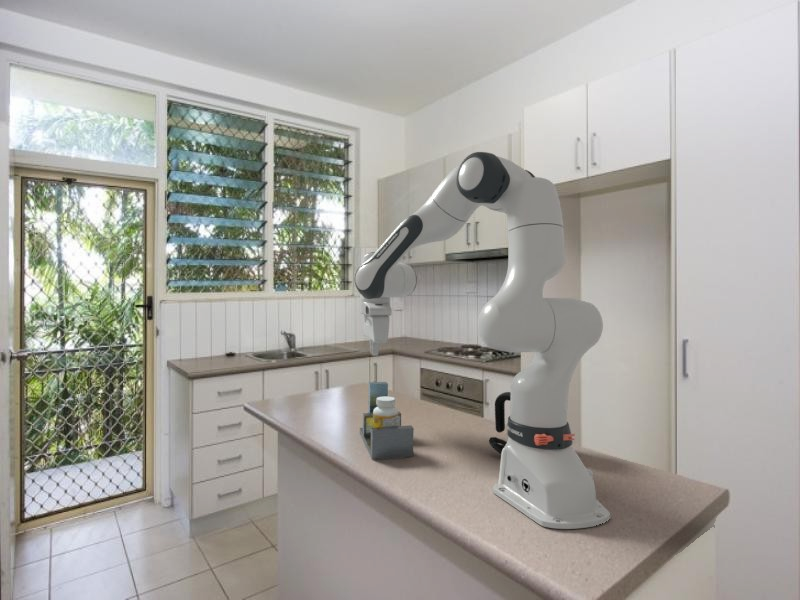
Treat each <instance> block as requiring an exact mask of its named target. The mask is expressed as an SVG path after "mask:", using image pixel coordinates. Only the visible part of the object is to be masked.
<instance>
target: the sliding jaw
mask: <svg viewBox="0 0 800 600" xmlns="http://www.w3.org/2000/svg"><path fill="white" fill-rule="evenodd" d="M383 396H388V397H389V384H388V382H387V381H371V382H369V381H368V401H367V402H368V407H367V409H368V411H367V413H366V412H364V413H362V428H363V436H371V428H373V411H374V409H375V408H376V407H378V406H377V404H376V399H377V398H378V397H383ZM398 426H402V413H401V412H400V411H398Z"/></svg>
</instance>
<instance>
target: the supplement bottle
mask: <svg viewBox="0 0 800 600" xmlns="http://www.w3.org/2000/svg"><path fill="white" fill-rule="evenodd" d="M376 404H377V406H378V407H376V408H375V409H374V411H373V428H375V427H392V426H398V412H399V410H398V408H397V407H395V406H396V397H393V396H389V395H388V396H383V397H378V398H377V399H376Z"/></svg>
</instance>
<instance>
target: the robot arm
mask: <svg viewBox="0 0 800 600" xmlns="http://www.w3.org/2000/svg"><path fill="white" fill-rule="evenodd" d="M480 207H485V208H487V209H489V210H492V211H494V212H498V213H504V214H506V217H507V219H506V220H507V244H508V246H507V250H508V255H507V256H508V258H507V271H506V275H505V278H504V280H503V284H502V285H501V287H500V289H499V290H498V292H497V293H496V294H495V295H494V296H493V297H492V298H491V299H490V300H488V301H487V302H486V303H485V304H484V305H483V307H481V310H480V312H479V315H478V316H477V317H478V318H477V331H478V333H479V338H481V341H482V342H483V344H484V345H485V346H486V347H487V348H489V349H491V350H492V349H493V350H496V351H499V352H506V353H534V357H533V359H532V361H531V362H530V364H528V366H527V367H525V368H524V369H523V370H521V371H519V372H518V373H517V374H516V375H515V376H514V377H513V379H512V380H511V383H510V392H511V395H510V401H509V402H510V403H509V416H508V418H507V423H506V429H507V434H506V435H507V436H508V438H507V441H506V442H507V443H506V445H505V447H504V448H503V450H502V453H501V454H500V463H499V465H500V466H499V475H498V482H497V483H495V484H494V485H493V488H492V493H493V494H494V495H496V496H497V497H499V498H500V499H502V500H503V501H505V502H506V503H508V504H509V505H510V506H512V507H513V508H515V509H516V510H518V511H519V512H521V513H522V514H523V515H525V516H527V518H529V519H531V520H532V521H534V522H535V523H537V524H538V525H539V526H542V527H545V528H549V529H550V528H551V529H555V530H557V529H558V530H559V529H560V530H573V529H585V528H592V527H596V525H597V526H600V525H599V524H601V525H603V524H605V522H606V521H607V522H609V521H610V520H611V517H612V516H611V512H610V511H609V510H608V509H607V508H606V507H605V506H604V505H603V504H602V503H601V502H600V501H599V500H598V499H597V495H596V494H597V493H596V485H595V481H594V473H593V471H592V470H591V469H590V468H587V467H586V466H585V464H584V463H583V462H582V460H581V458H580V457H579V455H578V453H577V452H576V450H575V449H574V447H573V442H574V441H575V439H576V438H573V437H574V436H575V435H576V434H575V433H572V430H571V428H570V424H569V422H568V405H569V404H568V403H569V390H570V386H571V385H570V384H571V381H572V377H573V375H574V373H575V370H576V368H577V366H578V364H579V362H580V361H581V359H582V358H583V357H584V355H585V354H586V353H587V352H588V351H589V350H590V349H591V348H593V347H594V346H595V345H597V343H598V342H599V340H600V338H601V336H602V333H603V329H604V322H603V317H602V315H601V312H600V311H599V310H598V308H597V307H596V306H595V305H594V304H593V303H591V302H587V301H584V300H580V299H575V298H571V297H544V296H543V292H544V287H545V284H546V282H547V281H549V280H551V279H553V278H554V277H556V276H557V275H558V274H559V273H561V271H562V270H563V268H564V266H565V264H566V250H565V249H566V247H565V230H564V219H563V212H562V211H563V210H562V206H561V201H560V197H559V193H558V190H557V188H556V185H555V184H554V183H553V181H551V180H549V179H547V178H543V177H538V176H537V177H536V176H535V175H534V173H532V172H531V171H529V170H527V169H524V168H523V167H521V166H520V165H518V164H516V163H515V162H513V161H511V160H509V159H507V158H505V157H504V158H503V157H500V156H497V155H496V154H494V153H491V152H486V151H476V152H473V153H470V154H469V155H467V156H466V157H465V158H464V159H463V160H462V161H461V163H460V164H458V165H457V166H455V167H454V168H453V169H452V170H451V171H450V172H449V173H448V174H447V175H446V176H445V177H444V178H443V179H442V180H441V182H440V183H439V184H438V186H437V187H436V188H435V189H434V191H433V192H432V193H431V195H430V196H429V198H428V199H426V201H425V202H424V203H423V204H422V205H421V207H419V208H418V209H417V210H416V211H415V212H414V213H413V214H411V215H410V216H407V218H405V219H404V220H403V221H402V222H400V223H399V225H398V226H397V227H395V229H394V230H393V231H392V232H391V233H390V234H389V236H388V237H387V238H386V239H385V241H384V242H382V244H381V245H380V246H379V248H377V250H376V251H372V252H368V253H366V254H364V256H363V257H362V261H361V264H360V265H359V266H358V268H357V269H356V272H355V274H354V284H355V285H354V286H355V287H356V289H357V291H358V293H359V295H360V296H359V314H361V315H364V316H363V336H364V337H366V338H367V339H368V340H369V346H370V347H369V348H370V354H371V356H373V357H375V356H376V357H377V356H379V348H380V344H387V342H388V339H389V332H390V331H389V329H390V316H392V312H393V311H392V306H391V299H392V298H405V297H408V296H410V295H411V294H413V292H415V289H416V287H417V283H418V278H417V273H416V271H415V269H414V268H413V267H412V265H410V264H407V263H403V262H402V261H401V260H402V259H403V258H404V257H405V256H406V255H407V254H408V253H409V252H410V251H411V250H412V249H415V248H417V247H419V246H422V245H426V244H430V243H435V242H437V243H438V242H442V241H446V240H449V239H451V238H453V237H454V236H456V234H458V233H459V232H460V231H461V230H462V229H463V227H464V226H465V225H466V224H467V222H468V221H469V219H470V218H471V217H472V215H473V214H474V213H475V211H476V210H477V209H478V208H480ZM609 519H610V520H609ZM608 520H609V521H608ZM607 522H606V523H607ZM602 523H603V524H602Z"/></svg>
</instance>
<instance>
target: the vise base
mask: <svg viewBox="0 0 800 600" xmlns="http://www.w3.org/2000/svg"><path fill="white" fill-rule="evenodd" d="M359 435H360V437H361V439H362V442H363V443H364V446H365V448H366V451H367V452H368V454H369V457H370V458H371V460H372V461H374V460H375V461H376V460H387V459H388V460H389V459H390V460H391V459H392V460H393V459H402V458H411V457H412V458H413V457H414V427H413V426H412V425H411V424H410V425H401V426H392V427H375V428H371V436H363V427H359Z"/></svg>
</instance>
